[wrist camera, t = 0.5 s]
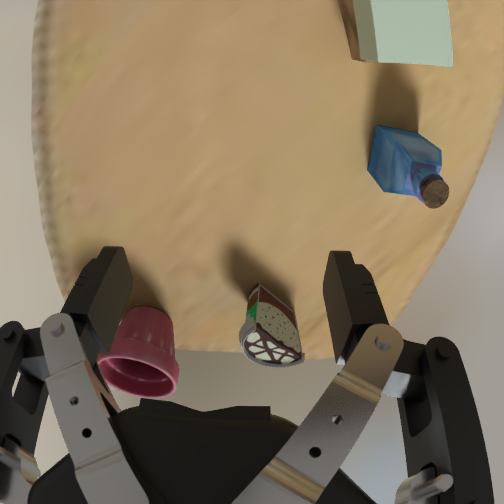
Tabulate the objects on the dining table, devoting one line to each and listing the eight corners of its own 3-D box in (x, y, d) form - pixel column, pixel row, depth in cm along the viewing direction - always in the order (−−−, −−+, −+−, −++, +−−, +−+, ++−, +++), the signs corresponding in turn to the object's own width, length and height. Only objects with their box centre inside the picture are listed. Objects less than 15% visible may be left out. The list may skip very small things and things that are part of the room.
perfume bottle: (367, 170, 38) (402, 218, 29) (376, 125, 35) (419, 161, 25) (407, 175, 39) (449, 223, 29) (418, 133, 35) (467, 171, 25)
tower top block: (350, -14, 21) (366, -22, 17) (421, -7, 20) (445, -10, 16) (360, 58, 26) (378, 62, 22) (428, 61, 25) (453, 67, 21)
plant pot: (165, 352, 63) (154, 406, 53) (105, 322, 57) (86, 376, 47) (201, 320, 56) (192, 382, 46) (132, 283, 51) (109, 344, 40)
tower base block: (336, -4, 25) (348, -10, 21) (399, -6, 24) (418, -10, 20) (351, 59, 30) (365, 62, 26) (411, 54, 29) (431, 58, 25)
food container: (224, 296, 52) (220, 345, 44) (252, 277, 50) (252, 328, 42) (272, 331, 58) (275, 377, 50) (299, 316, 55) (305, 363, 47)
